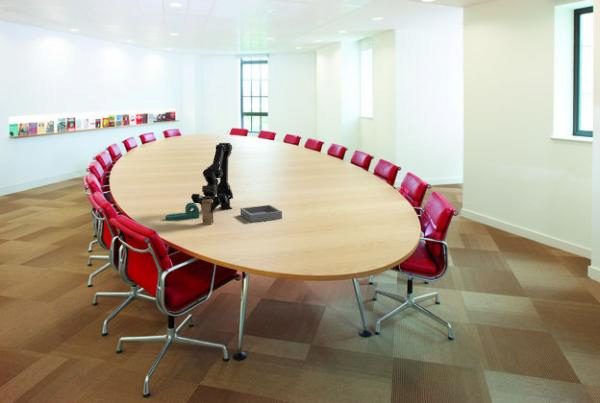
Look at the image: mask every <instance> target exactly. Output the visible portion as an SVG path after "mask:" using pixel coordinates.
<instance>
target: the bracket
mask: <svg viewBox="0 0 600 403" xmlns="http://www.w3.org/2000/svg"><path fill="white" fill-rule="evenodd" d="M184 210H185V212H179V213H170V214H169V213H168V214H166V215H165V216H164V218H165V221H167V222H168V221H169V222H170V221H181V220H191V219H200V208H199V207H198V205H197V203H194V202H188V203H187V204H186V205H185V207H184Z"/></svg>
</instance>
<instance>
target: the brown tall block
mask: <svg viewBox="0 0 600 403" xmlns="http://www.w3.org/2000/svg"><path fill="white" fill-rule="evenodd" d="M212 204H213V200H212V199H203V200H202V210H201V216H202V225H208V226H211V225H213V224H214V222H215V220H214V211H213V212H212V213H211V207H212Z"/></svg>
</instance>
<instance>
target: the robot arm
mask: <svg viewBox="0 0 600 403" xmlns="http://www.w3.org/2000/svg"><path fill="white" fill-rule="evenodd" d="M232 150H233V145H232V144H231V142H219V143H218V144H216V145H215V152H214V156H213V160H212V164H210V165H209V166H207V168H205V169H204V170H203V171H202V175H203V178H204V180H205V182H207V183H206V185H202V189H201V192H202V194H203V195H200V193H192V194H191V196H190V198H191V200H192V203H195V204H199V205H200V209H201V211H202V200H203V199H212V202H213V204H212V207H211V213H212V212H213V213H214V212H215V210H216V209H217V207H218V206H219V207H218V208H219V209H220V210H230V209H232V210H233V207H232V206H231V200H232V199H234V194H233V191H232V189H231V186H230V184H229V158H230V156H231V154H232ZM218 179H219V180H218Z"/></svg>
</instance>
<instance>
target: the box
mask: <svg viewBox="0 0 600 403" xmlns="http://www.w3.org/2000/svg"><path fill="white" fill-rule="evenodd" d="M239 210H240V216H241V217H243V218H244V219H246V220H247V221H249V222H250V223H252V224H253V223H259V222H267V221H274V220H280V219H283V211H282V210H280V209H279V208H277V207H275V206H272V205H271V204H266V205H258V206H257V205H256V206H250V207H249V206H247V207H240V208H239Z"/></svg>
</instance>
